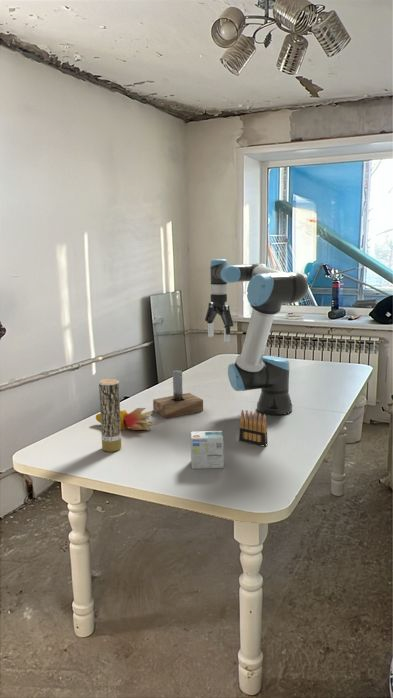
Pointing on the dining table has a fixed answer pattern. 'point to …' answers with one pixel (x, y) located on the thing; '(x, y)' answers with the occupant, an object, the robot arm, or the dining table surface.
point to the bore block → (177, 405)
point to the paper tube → (110, 414)
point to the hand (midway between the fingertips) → (218, 339)
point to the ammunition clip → (253, 429)
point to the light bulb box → (207, 449)
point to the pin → (177, 386)
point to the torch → (133, 419)
